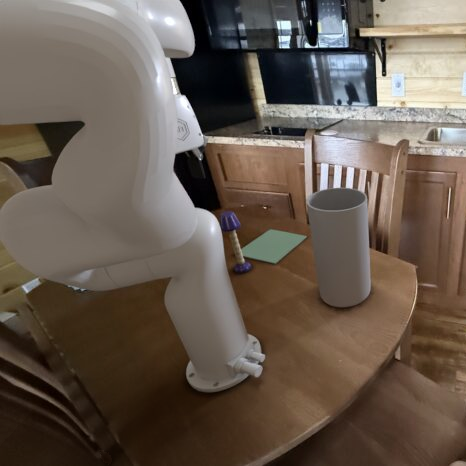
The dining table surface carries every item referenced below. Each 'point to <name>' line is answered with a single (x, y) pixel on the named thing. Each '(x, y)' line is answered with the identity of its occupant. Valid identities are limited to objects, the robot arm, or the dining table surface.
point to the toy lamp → (234, 239)
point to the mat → (272, 246)
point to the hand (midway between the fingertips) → (186, 181)
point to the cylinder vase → (340, 245)
